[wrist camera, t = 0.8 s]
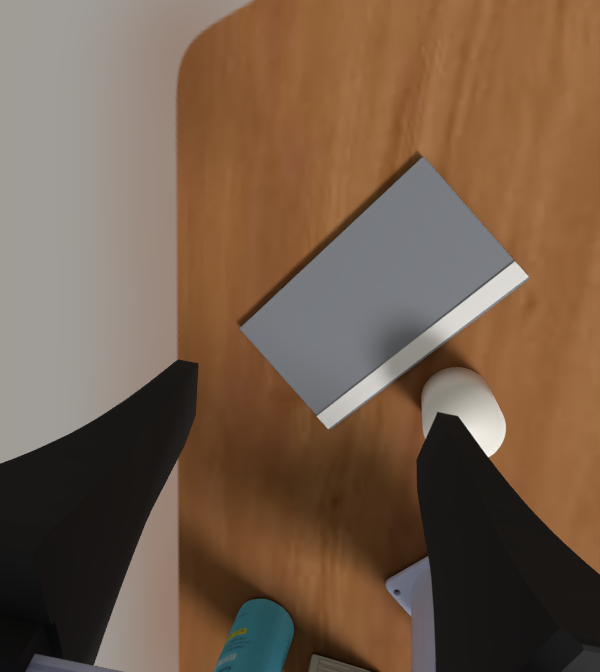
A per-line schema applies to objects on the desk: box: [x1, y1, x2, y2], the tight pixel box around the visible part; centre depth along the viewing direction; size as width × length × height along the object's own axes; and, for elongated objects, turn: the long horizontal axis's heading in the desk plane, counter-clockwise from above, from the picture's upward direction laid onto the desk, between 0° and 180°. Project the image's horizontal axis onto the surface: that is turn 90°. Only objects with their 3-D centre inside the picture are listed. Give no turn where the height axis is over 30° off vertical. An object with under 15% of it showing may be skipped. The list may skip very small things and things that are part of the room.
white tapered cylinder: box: [421, 367, 506, 457], centre depth 28 cm, size 4×4×4 cm
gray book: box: [240, 156, 530, 430], centre depth 29 cm, size 10×16×1 cm, turn 134°
